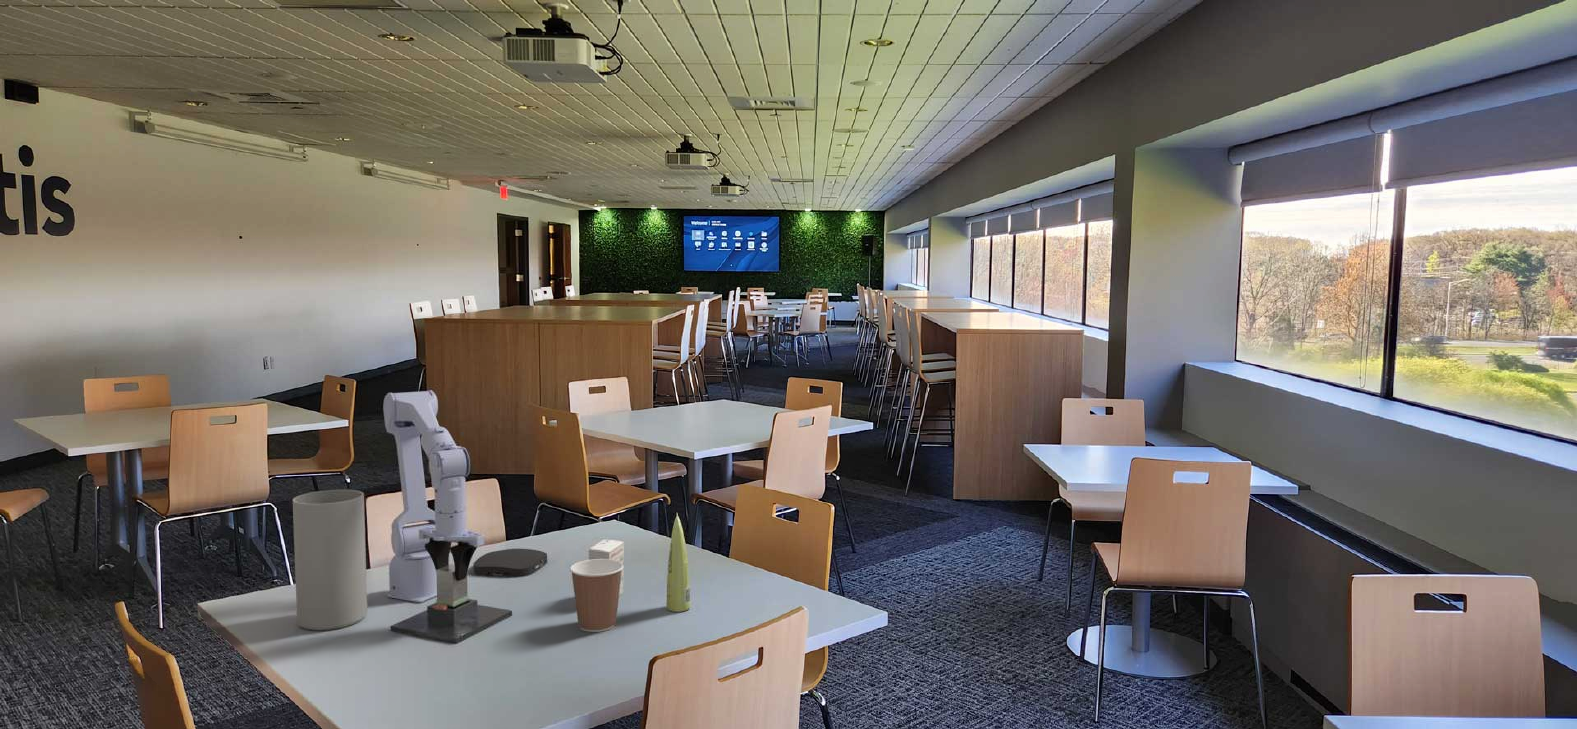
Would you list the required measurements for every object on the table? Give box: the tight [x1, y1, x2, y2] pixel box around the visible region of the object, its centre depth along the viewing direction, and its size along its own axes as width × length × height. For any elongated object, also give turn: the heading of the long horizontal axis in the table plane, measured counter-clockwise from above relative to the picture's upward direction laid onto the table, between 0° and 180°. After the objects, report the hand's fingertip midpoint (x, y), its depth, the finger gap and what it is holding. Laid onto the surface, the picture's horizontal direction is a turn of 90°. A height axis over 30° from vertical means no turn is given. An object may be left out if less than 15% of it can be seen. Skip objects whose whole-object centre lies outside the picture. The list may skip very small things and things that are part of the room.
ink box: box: [588, 539, 625, 597], centre depth 193 cm, size 9×5×12 cm, turn 168°
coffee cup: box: [569, 559, 624, 633], centre depth 178 cm, size 10×10×12 cm
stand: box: [390, 598, 513, 644], centre depth 179 cm, size 16×16×5 cm
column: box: [435, 563, 469, 607], centre depth 178 cm, size 4×4×7 cm
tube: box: [666, 513, 691, 613], centre depth 188 cm, size 6×5×20 cm
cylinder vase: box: [292, 489, 368, 631], centre depth 179 cm, size 12×12×25 cm
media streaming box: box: [473, 548, 548, 578], centre depth 215 cm, size 15×15×3 cm
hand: (451, 577), depth 178 cm, fingers closed on column, 4 cm apart
